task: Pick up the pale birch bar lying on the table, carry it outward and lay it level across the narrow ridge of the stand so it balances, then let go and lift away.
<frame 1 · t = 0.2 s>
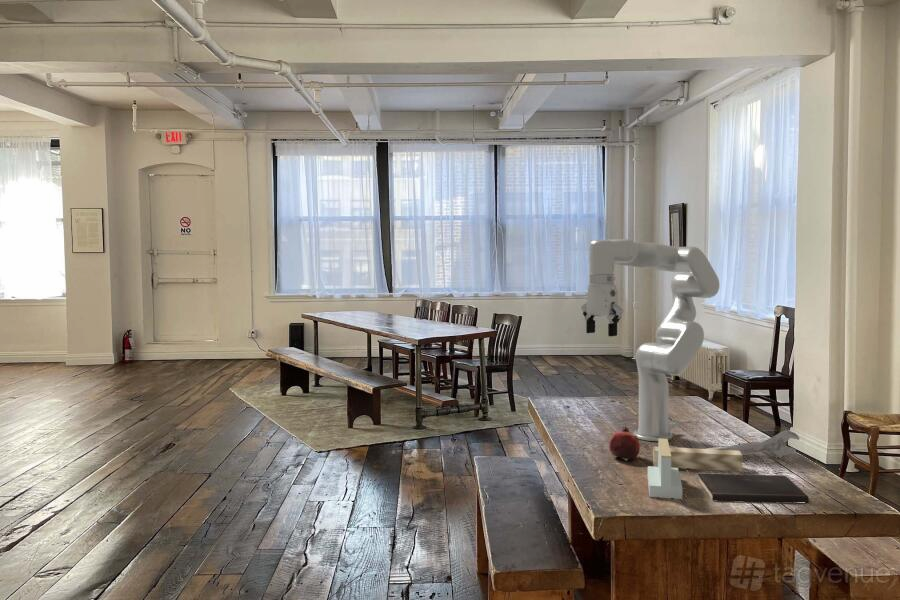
hand: (601, 334, 219), 36 cm above the table, tool pointing down, fingers open, 9 cm apart
hardcover book: (750, 493, 182), on the table
wrench: (748, 459, 210), on the table
birch bar: (696, 467, 202), on the table
fruit: (624, 459, 211), on the table
ridge stand: (664, 487, 185), on the table
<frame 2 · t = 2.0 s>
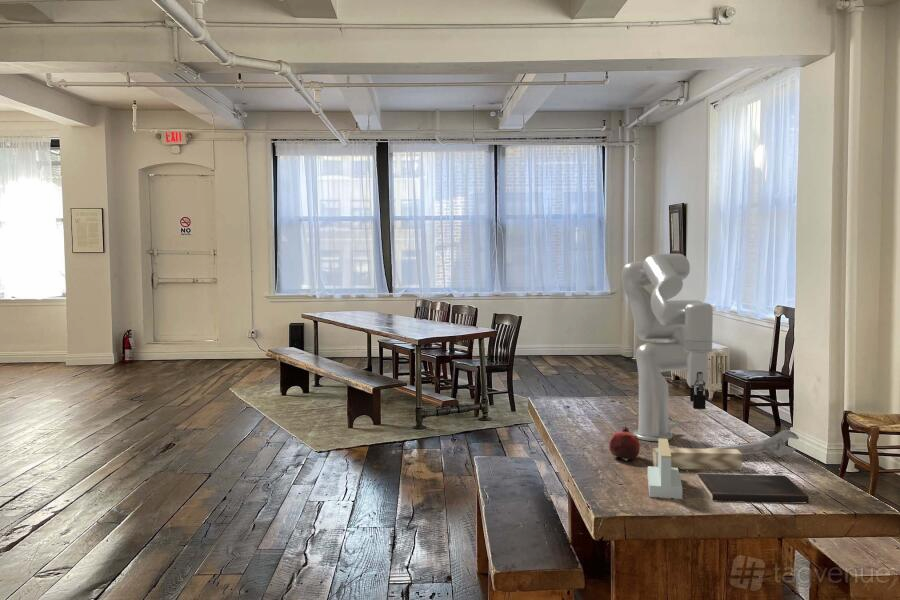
hand: (697, 405, 201), 18 cm above the table, tool pointing down, fingers open, 9 cm apart
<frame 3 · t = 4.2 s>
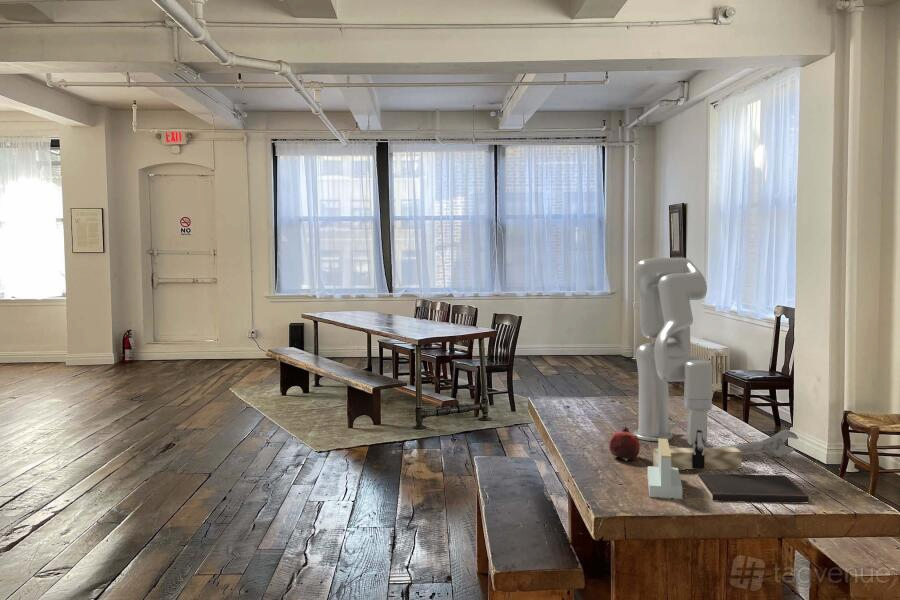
hand: (697, 464, 202), 1 cm above the table, tool pointing down, fingers closed on birch bar, 5 cm apart
birch bar: (696, 467, 202), on the table, touching gripper
everything else where it was.
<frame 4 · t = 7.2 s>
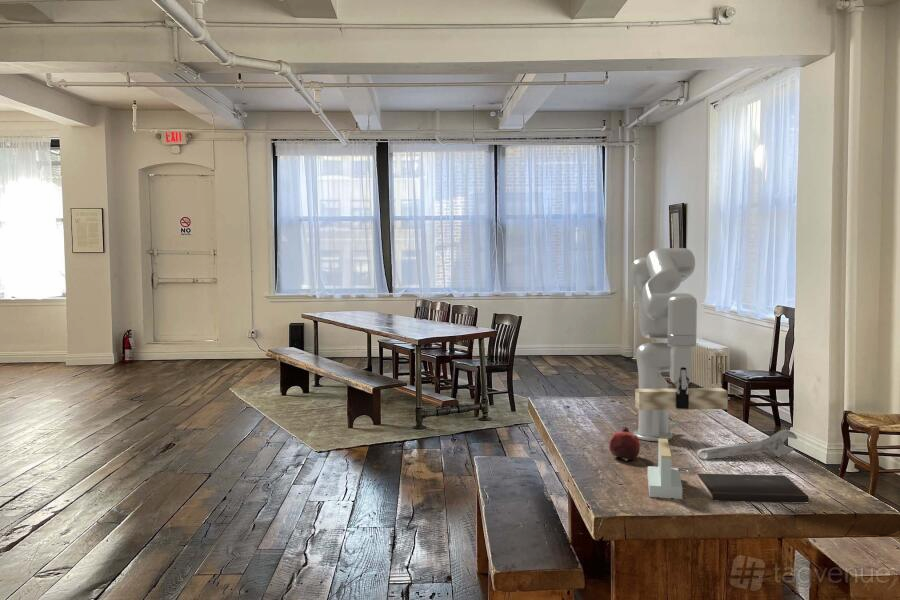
hand: (681, 405, 193), 20 cm above the table, tool pointing down, fingers closed on birch bar, 5 cm apart
birch bar: (680, 407, 193), point 19 cm above the table, touching gripper
everything else where it was.
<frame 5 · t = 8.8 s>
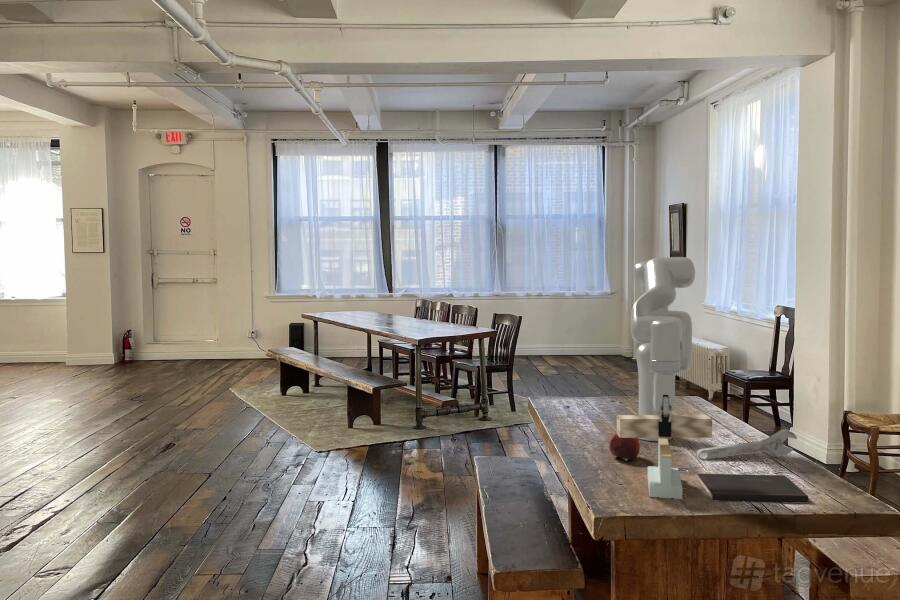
hand: (664, 433, 186), 14 cm above the table, tool pointing down, fingers closed on birch bar, 5 cm apart
birch bar: (663, 435, 186), point 14 cm above the table, touching gripper
everything else where it was.
when the fingers open (12 cm above the table, at t = 10.3 s): birch bar stays where it is, resting on ridge stand.
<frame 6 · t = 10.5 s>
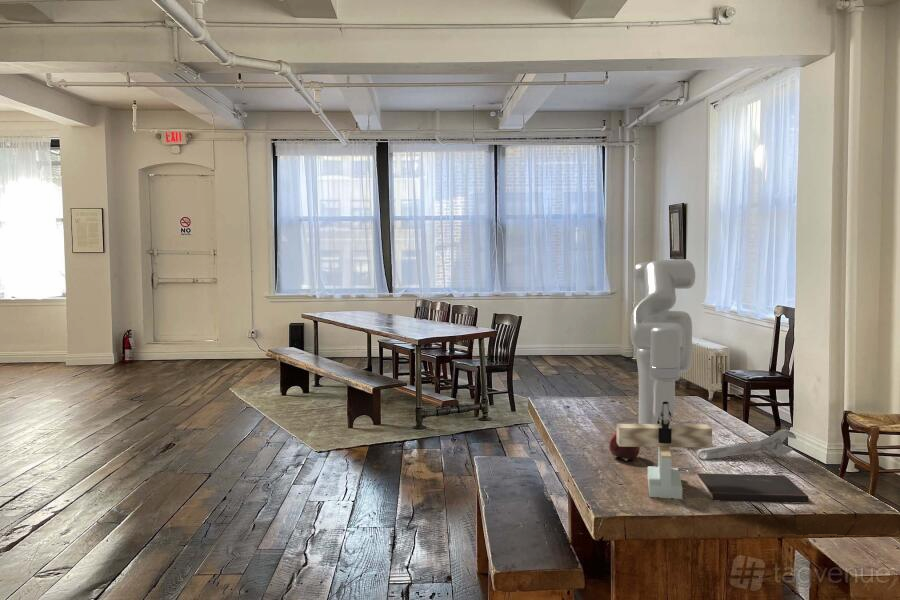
hand: (664, 438, 186), 13 cm above the table, tool pointing down, fingers open, 6 cm apart
birch bar: (663, 444, 187), point 11 cm above the table, touching ridge stand
everything else where it was.
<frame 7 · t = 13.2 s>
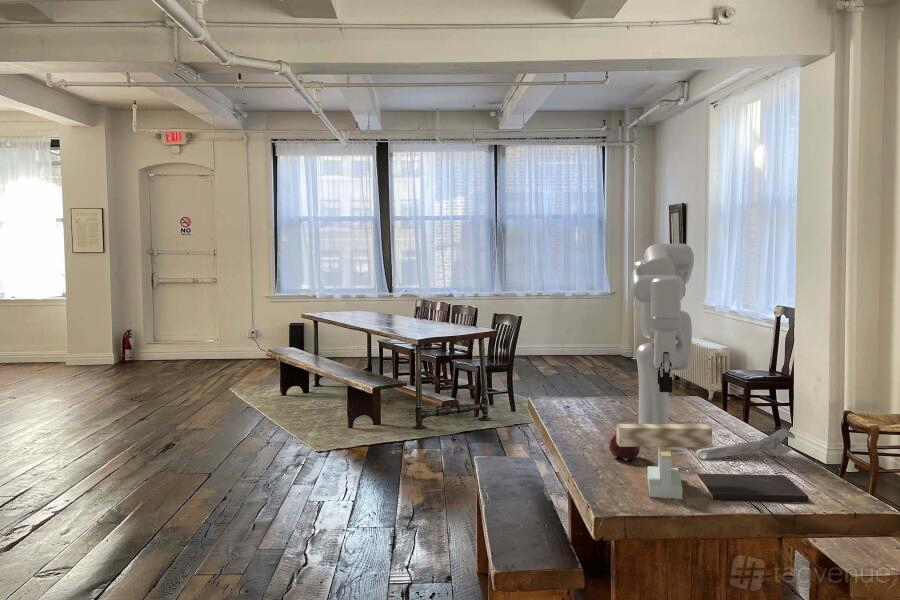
hand: (664, 388, 186), 26 cm above the table, tool pointing down, fingers open, 9 cm apart
nothing on the table moved.
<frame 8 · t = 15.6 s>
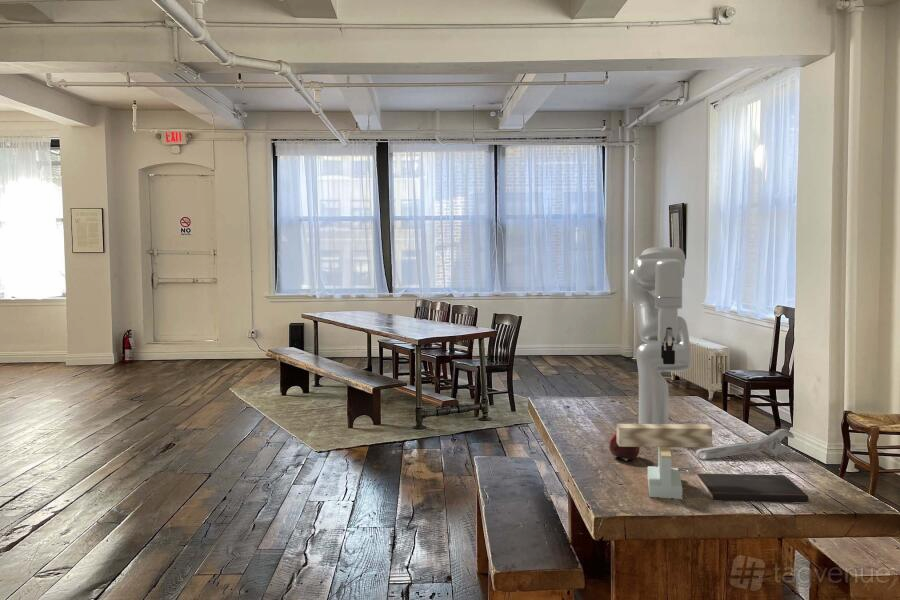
hand: (667, 361, 204), 30 cm above the table, tool pointing down, fingers open, 9 cm apart
at the end: birch bar 0.1 cm from the target spot on the ridge stand, point 11.0 cm above the ridge stand's base; birch bar tilted 0°; the gripper is holding nothing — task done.
